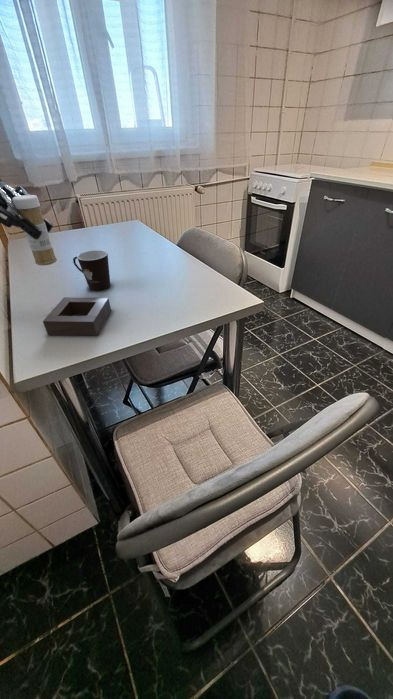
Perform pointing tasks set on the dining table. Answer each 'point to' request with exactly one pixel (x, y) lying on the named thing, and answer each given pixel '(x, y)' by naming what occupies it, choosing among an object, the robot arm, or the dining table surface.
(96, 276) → the coffee mug
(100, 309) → the bottle rack
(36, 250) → the sprinkles bottle
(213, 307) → the dining table surface
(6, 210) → the robot arm
